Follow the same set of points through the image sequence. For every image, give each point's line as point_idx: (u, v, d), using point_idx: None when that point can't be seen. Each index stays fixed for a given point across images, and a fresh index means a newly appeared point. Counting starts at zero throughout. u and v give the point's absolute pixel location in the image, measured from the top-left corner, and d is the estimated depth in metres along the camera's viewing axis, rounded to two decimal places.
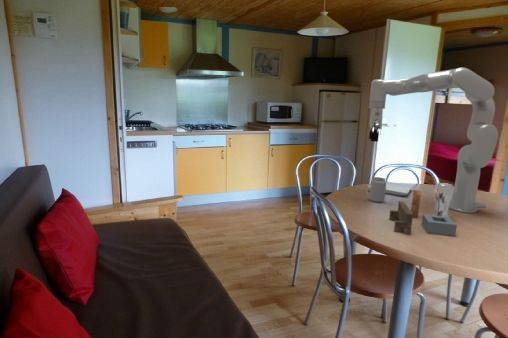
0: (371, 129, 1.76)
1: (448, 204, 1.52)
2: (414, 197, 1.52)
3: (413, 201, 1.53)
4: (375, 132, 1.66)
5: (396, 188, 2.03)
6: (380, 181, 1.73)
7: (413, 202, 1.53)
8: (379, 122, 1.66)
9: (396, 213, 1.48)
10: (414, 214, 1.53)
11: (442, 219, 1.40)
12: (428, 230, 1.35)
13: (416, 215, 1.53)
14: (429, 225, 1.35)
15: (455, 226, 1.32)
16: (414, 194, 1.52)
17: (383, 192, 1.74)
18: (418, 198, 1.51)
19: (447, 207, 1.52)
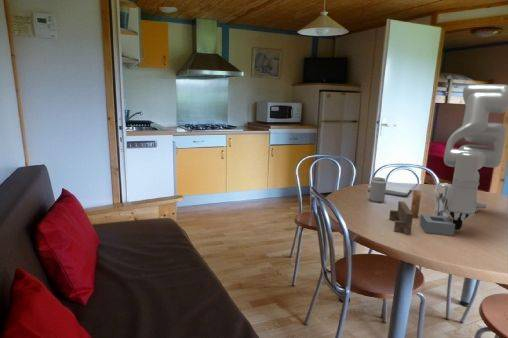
0: None
1: None
2: (414, 197, 1.52)
3: (413, 201, 1.53)
4: None
5: (396, 188, 2.03)
6: (380, 181, 1.73)
7: (413, 202, 1.53)
8: None
9: (396, 213, 1.48)
10: (414, 214, 1.53)
11: (440, 219, 1.40)
12: (426, 230, 1.35)
13: (416, 215, 1.53)
14: (427, 225, 1.35)
15: (453, 226, 1.33)
16: (414, 194, 1.52)
17: (383, 192, 1.74)
18: (418, 198, 1.51)
19: None
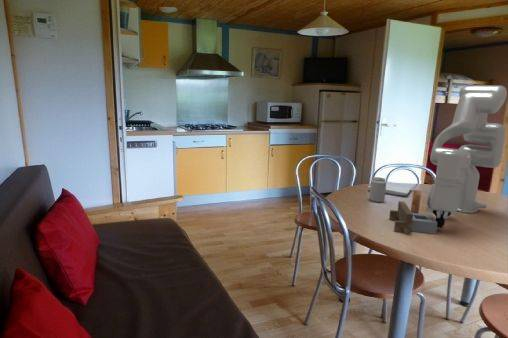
0: (439, 213, 1.37)
1: None
2: (413, 197, 1.52)
3: (413, 201, 1.53)
4: None
5: (396, 188, 2.03)
6: (380, 181, 1.73)
7: (413, 202, 1.53)
8: None
9: (396, 213, 1.48)
10: None
11: (424, 217, 1.42)
12: None
13: None
14: None
15: (436, 224, 1.34)
16: (414, 194, 1.52)
17: (383, 192, 1.74)
18: (418, 198, 1.51)
19: None
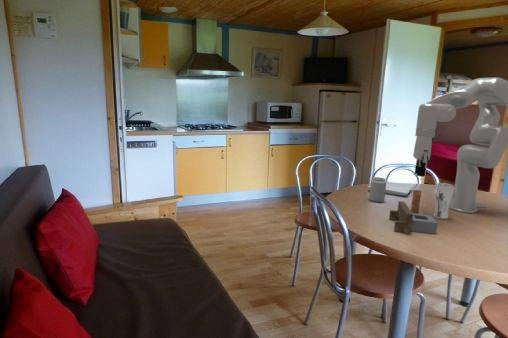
0: None
1: (448, 204, 1.52)
2: (414, 197, 1.52)
3: (413, 201, 1.53)
4: None
5: (396, 188, 2.03)
6: (380, 181, 1.73)
7: (413, 202, 1.53)
8: None
9: (396, 213, 1.48)
10: None
11: (424, 217, 1.42)
12: None
13: None
14: None
15: (436, 224, 1.34)
16: (414, 194, 1.52)
17: (383, 192, 1.74)
18: (418, 198, 1.51)
19: (447, 207, 1.52)
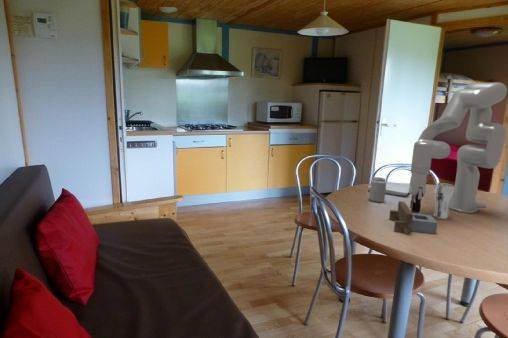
0: None
1: (448, 204, 1.52)
2: None
3: (413, 201, 1.53)
4: None
5: (396, 188, 2.03)
6: (380, 181, 1.73)
7: None
8: None
9: (396, 213, 1.48)
10: None
11: (424, 217, 1.42)
12: None
13: None
14: None
15: (436, 224, 1.34)
16: None
17: (383, 192, 1.74)
18: None
19: (447, 207, 1.52)
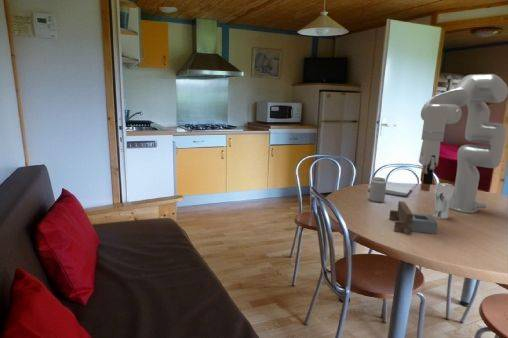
0: None
1: (448, 204, 1.52)
2: (425, 168, 1.35)
3: (424, 172, 1.35)
4: None
5: (396, 188, 2.03)
6: (380, 181, 1.73)
7: (424, 173, 1.35)
8: None
9: (396, 213, 1.48)
10: (425, 187, 1.36)
11: (424, 217, 1.42)
12: None
13: (427, 188, 1.36)
14: None
15: (436, 224, 1.34)
16: None
17: (383, 192, 1.74)
18: None
19: (447, 207, 1.52)
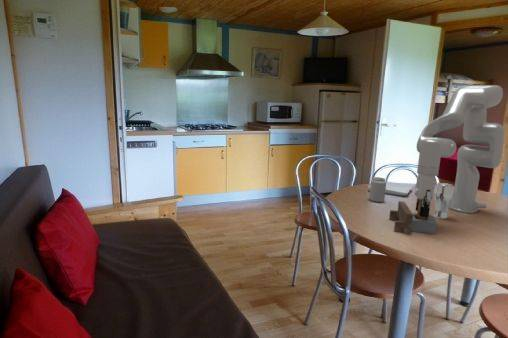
0: None
1: (448, 204, 1.52)
2: (419, 207, 1.38)
3: (419, 211, 1.38)
4: None
5: (396, 188, 2.03)
6: (380, 181, 1.73)
7: (419, 212, 1.39)
8: None
9: (396, 213, 1.48)
10: None
11: None
12: None
13: None
14: None
15: (436, 224, 1.34)
16: (420, 203, 1.38)
17: (383, 192, 1.74)
18: None
19: (447, 207, 1.52)
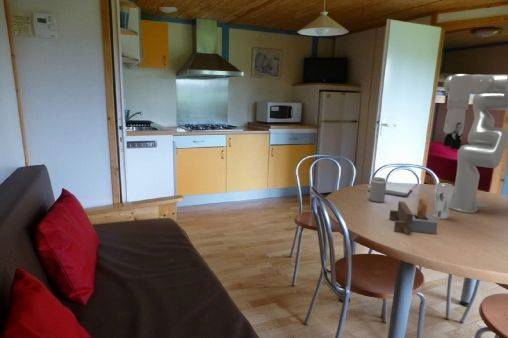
0: None
1: (448, 204, 1.52)
2: (419, 207, 1.38)
3: (419, 211, 1.38)
4: None
5: (396, 188, 2.03)
6: (380, 181, 1.73)
7: (419, 212, 1.39)
8: None
9: (396, 213, 1.48)
10: None
11: None
12: None
13: None
14: None
15: (436, 224, 1.34)
16: (420, 203, 1.38)
17: (383, 192, 1.74)
18: (424, 208, 1.37)
19: (447, 207, 1.52)
